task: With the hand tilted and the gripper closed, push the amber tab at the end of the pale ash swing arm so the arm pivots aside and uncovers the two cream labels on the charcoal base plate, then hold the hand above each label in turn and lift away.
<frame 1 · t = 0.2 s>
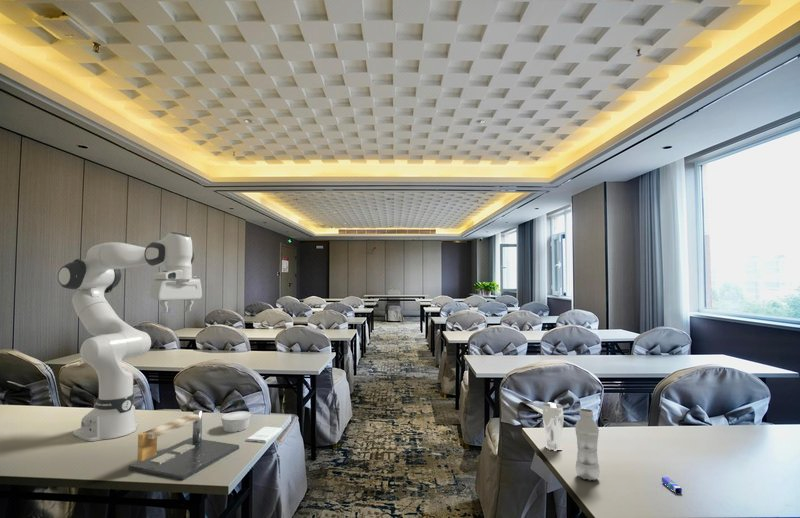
hand: (177, 312, 150), 48 cm above the table, tool pointing down, fingers open, 8 cm apart
base plate: (187, 458, 135), on the table
swing arm: (170, 436, 134), point 7 cm above the table, hinge at 0.0°
external hard drive: (264, 437, 154), on the table
plastic bottle: (587, 478, 121), on the table
ramekin: (236, 429, 162), on the table
beer glass: (553, 448, 142), on the table
eraser: (671, 490, 115), on the table
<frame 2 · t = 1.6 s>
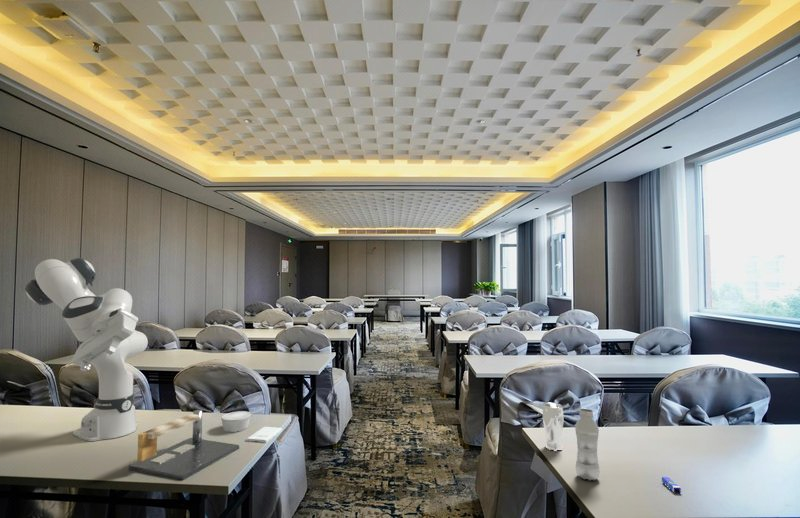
hand: (97, 361, 116), 36 cm above the table, tool tilted 50°, fingers open, 8 cm apart
nothing on the table moved.
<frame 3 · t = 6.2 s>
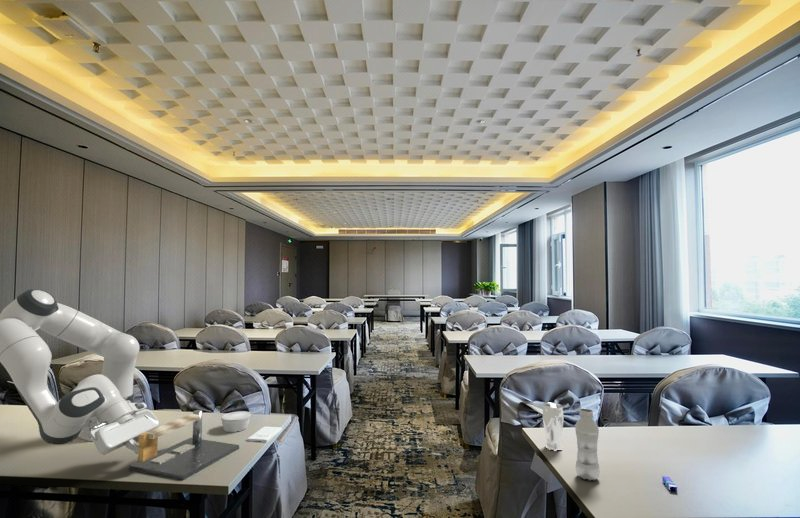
hand: (142, 450, 127), 6 cm above the table, tool tilted 45°, fingers closed
swing arm: (171, 436, 134), point 8 cm above the table, hinge at 0.9°, touching gripper
everything else where it was.
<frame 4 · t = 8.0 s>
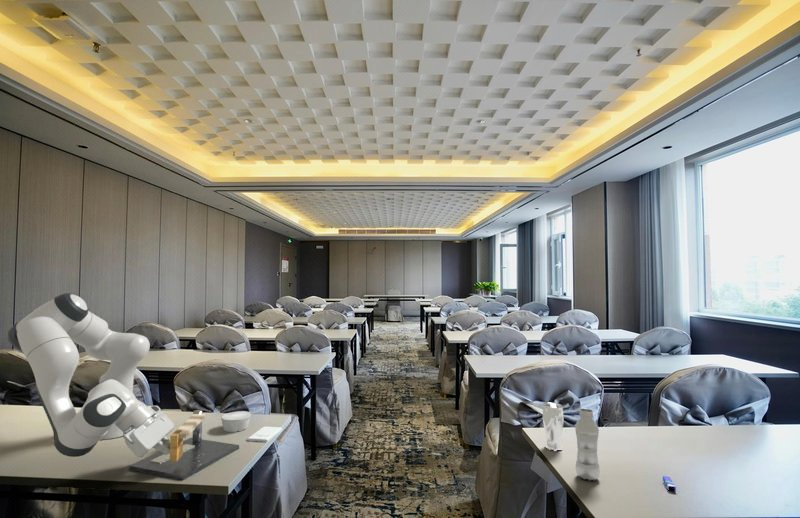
hand: (170, 451, 126), 6 cm above the table, tool tilted 45°, fingers closed, pressing on swing arm
swing arm: (188, 436, 134), point 8 cm above the table, hinge at 28.1°, touching gripper
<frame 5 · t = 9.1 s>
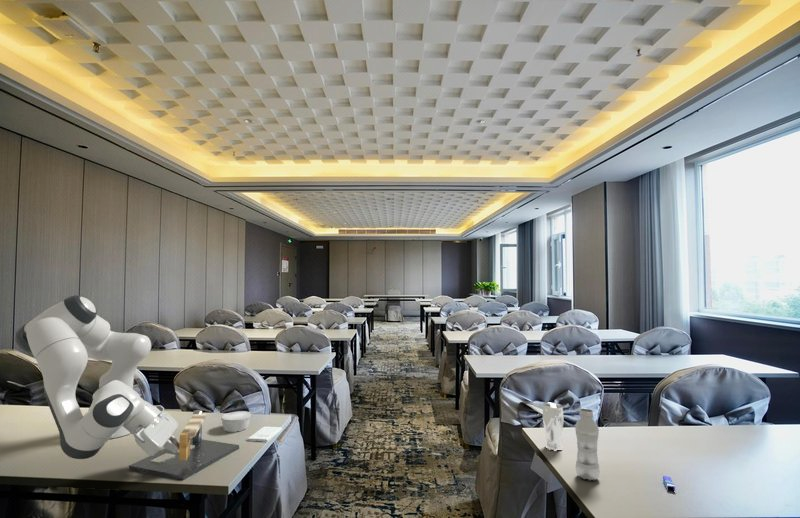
hand: (178, 449, 126), 6 cm above the table, tool tilted 45°, fingers closed
swing arm: (193, 435, 135), point 8 cm above the table, hinge at 34.8°, touching gripper
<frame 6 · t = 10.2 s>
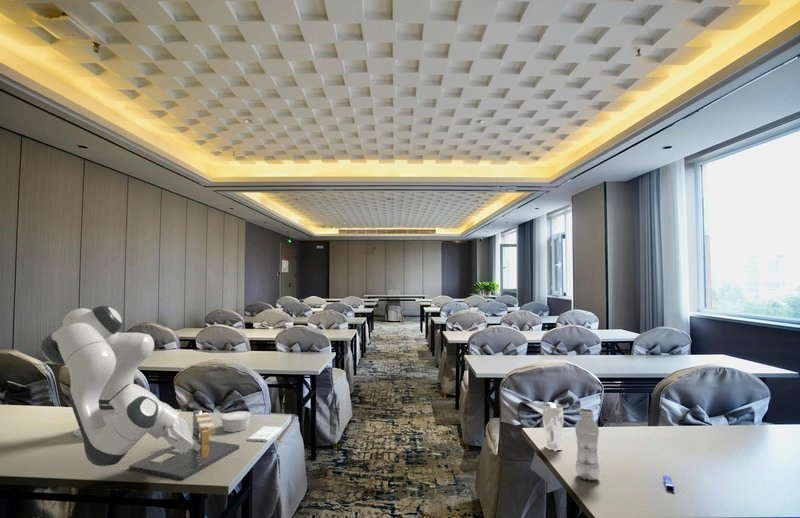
hand: (199, 446, 128), 6 cm above the table, tool tilted 45°, fingers closed, pressing on swing arm
swing arm: (204, 433, 137), point 7 cm above the table, hinge at 51.0°, touching gripper
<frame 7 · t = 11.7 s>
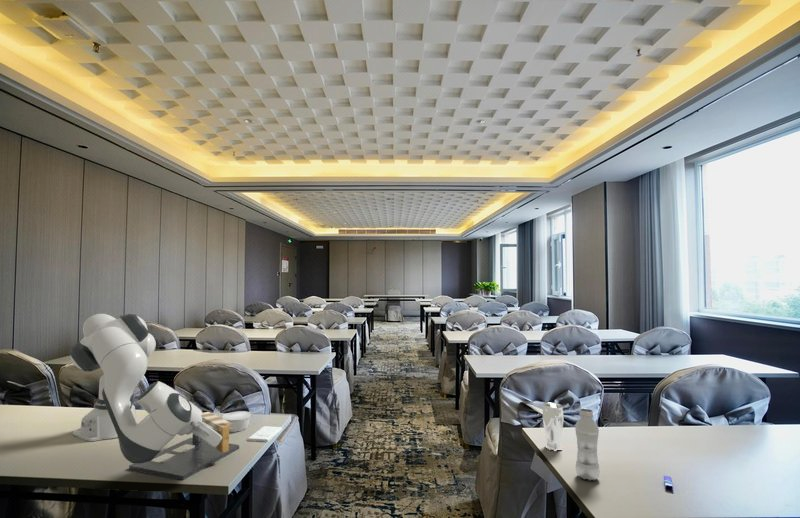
hand: (217, 442, 132), 6 cm above the table, tool tilted 45°, fingers closed
swing arm: (215, 431, 139), point 8 cm above the table, hinge at 66.9°, touching gripper
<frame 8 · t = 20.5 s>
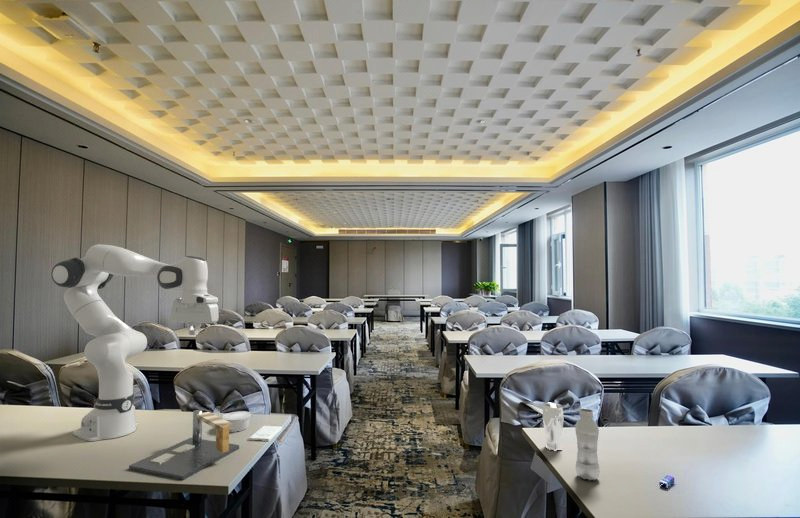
hand: (193, 334, 153), 39 cm above the table, tool pointing down, fingers closed
swing arm: (215, 431, 139), point 8 cm above the table, hinge at 67.0°
at the end: swing arm at +67° (first picture: +0°) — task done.
